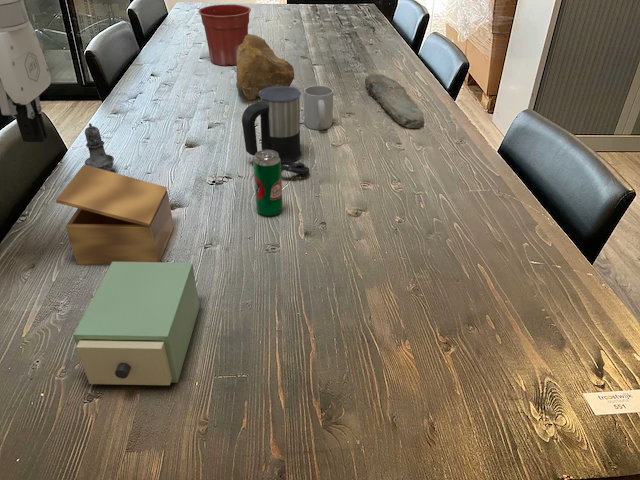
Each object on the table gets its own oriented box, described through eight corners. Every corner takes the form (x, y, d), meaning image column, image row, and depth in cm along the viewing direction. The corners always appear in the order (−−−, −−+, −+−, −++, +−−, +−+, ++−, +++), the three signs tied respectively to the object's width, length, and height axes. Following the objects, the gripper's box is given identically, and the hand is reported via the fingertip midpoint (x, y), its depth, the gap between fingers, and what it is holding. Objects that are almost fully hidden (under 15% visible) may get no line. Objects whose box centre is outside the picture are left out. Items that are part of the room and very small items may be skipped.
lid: (55, 202, 84) (56, 199, 83) (83, 167, 93) (83, 164, 93) (149, 227, 86) (149, 223, 86) (166, 190, 96) (167, 187, 95)
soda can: (276, 219, 103) (273, 163, 96) (252, 214, 104) (247, 158, 97) (286, 206, 106) (285, 151, 99) (263, 201, 108) (260, 146, 101)
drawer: (167, 393, 68) (158, 356, 64) (85, 391, 68) (71, 354, 64) (191, 312, 80) (185, 277, 76) (122, 311, 80) (112, 276, 76)
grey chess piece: (83, 180, 114) (68, 127, 107) (97, 168, 119) (83, 116, 112) (109, 183, 113) (96, 130, 106) (122, 170, 118) (110, 118, 111)
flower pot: (206, 53, 187) (200, 4, 178) (253, 52, 188) (250, 3, 179) (202, 69, 174) (196, 16, 164) (254, 67, 175) (251, 15, 166)
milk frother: (279, 142, 130) (276, 82, 121) (333, 160, 122) (334, 97, 114) (239, 165, 120) (233, 101, 112) (295, 186, 113) (293, 119, 104)
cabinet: (177, 382, 71) (167, 336, 66) (89, 381, 71) (72, 334, 66) (199, 306, 83) (192, 262, 78) (124, 305, 83) (112, 261, 78)
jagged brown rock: (292, 110, 148) (296, 54, 140) (231, 105, 147) (231, 49, 139) (293, 83, 168) (296, 33, 159) (239, 79, 166) (239, 28, 158)
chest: (77, 264, 91) (64, 226, 86) (101, 226, 100) (91, 189, 96) (157, 265, 91) (149, 227, 86) (174, 227, 100) (167, 190, 96)
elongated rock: (395, 136, 136) (431, 134, 139) (398, 116, 133) (435, 115, 135) (356, 82, 163) (387, 81, 165) (358, 64, 160) (390, 64, 162)
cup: (329, 118, 142) (330, 85, 137) (336, 134, 134) (337, 99, 129) (302, 119, 141) (302, 86, 136) (307, 135, 133) (307, 101, 128)
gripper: (-4, 30, 67) (39, 162, 78) (47, 3, 79) (78, 120, 90) (-64, 29, 67) (-13, 161, 78) (-4, 2, 79) (33, 120, 90)
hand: (35, 139), depth 84 cm, fingers closed
